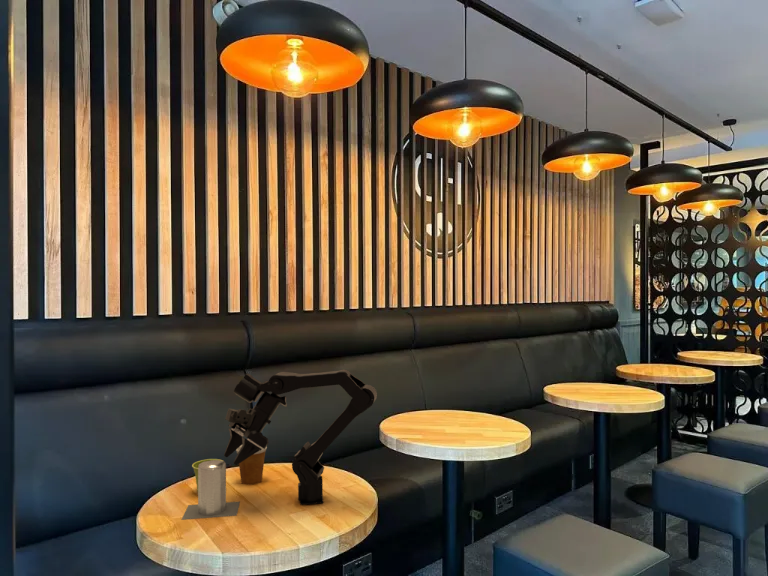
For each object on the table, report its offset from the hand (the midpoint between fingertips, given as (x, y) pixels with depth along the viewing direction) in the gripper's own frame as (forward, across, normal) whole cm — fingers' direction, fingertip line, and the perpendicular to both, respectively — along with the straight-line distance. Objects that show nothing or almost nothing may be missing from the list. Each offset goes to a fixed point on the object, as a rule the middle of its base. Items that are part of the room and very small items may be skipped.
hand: (229, 460), depth 148 cm
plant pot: (+12, -15, +6) cm, 20 cm away
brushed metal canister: (+13, 0, +4) cm, 14 cm away
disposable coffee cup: (+3, -17, +17) cm, 24 cm away
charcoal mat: (+13, 0, +4) cm, 14 cm away
